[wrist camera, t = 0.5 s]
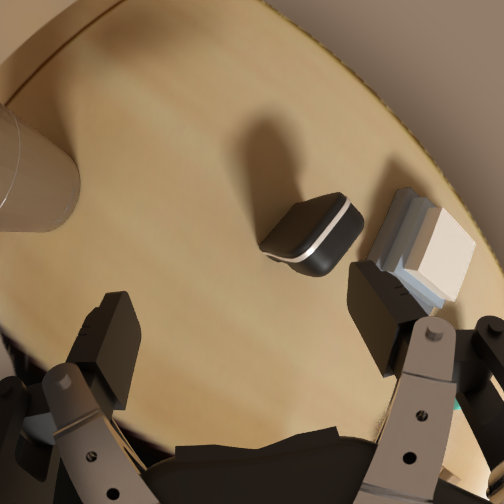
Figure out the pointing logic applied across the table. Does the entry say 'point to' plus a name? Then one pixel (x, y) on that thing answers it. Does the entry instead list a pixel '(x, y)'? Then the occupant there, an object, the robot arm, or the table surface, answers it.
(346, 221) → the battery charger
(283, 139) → the table surface
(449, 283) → the block tower
